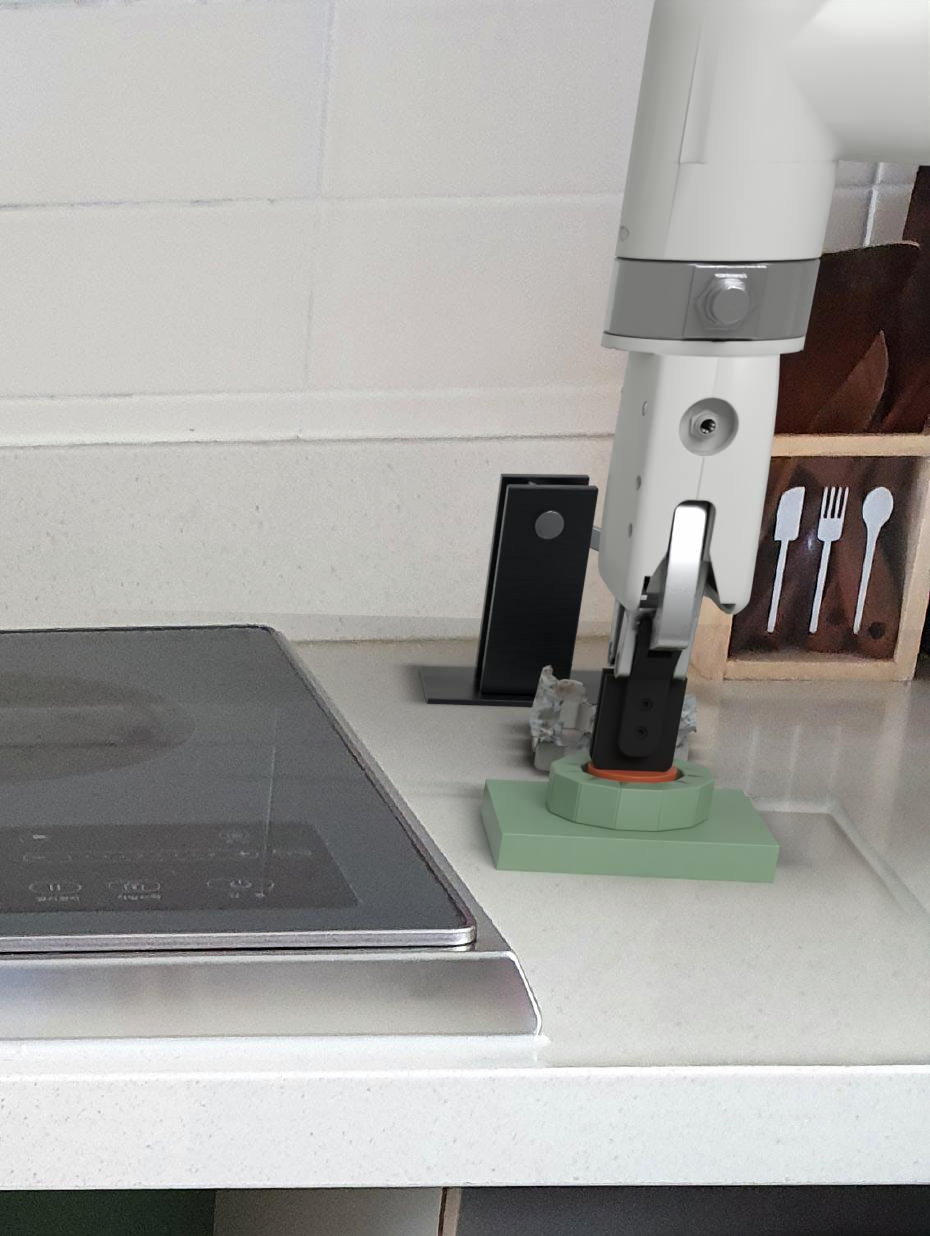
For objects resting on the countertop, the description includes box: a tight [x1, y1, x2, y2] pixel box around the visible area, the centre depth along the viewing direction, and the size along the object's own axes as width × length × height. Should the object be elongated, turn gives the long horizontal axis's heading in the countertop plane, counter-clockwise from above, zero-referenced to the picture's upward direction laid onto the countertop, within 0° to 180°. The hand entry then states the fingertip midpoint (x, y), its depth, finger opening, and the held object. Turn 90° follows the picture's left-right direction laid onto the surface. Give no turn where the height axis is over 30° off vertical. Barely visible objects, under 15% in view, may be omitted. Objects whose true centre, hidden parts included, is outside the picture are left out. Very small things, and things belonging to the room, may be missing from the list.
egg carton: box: [528, 665, 698, 772], centre depth 110 cm, size 11×8×4 cm
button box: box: [480, 753, 781, 884], centre depth 99 cm, size 11×9×4 cm
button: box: [587, 761, 677, 783], centre depth 98 cm, size 4×4×2 cm
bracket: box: [419, 473, 602, 708], centre depth 121 cm, size 10×8×12 cm
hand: (629, 765), depth 98 cm, fingers closed
